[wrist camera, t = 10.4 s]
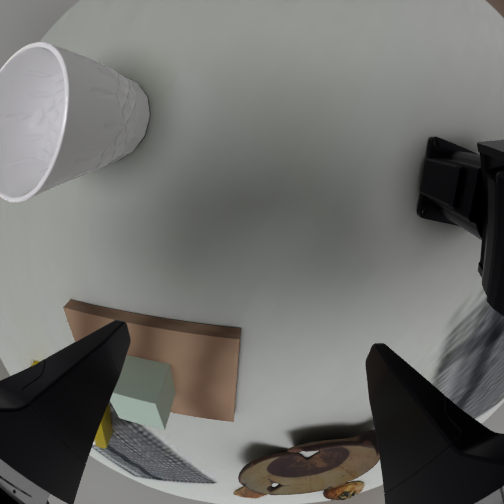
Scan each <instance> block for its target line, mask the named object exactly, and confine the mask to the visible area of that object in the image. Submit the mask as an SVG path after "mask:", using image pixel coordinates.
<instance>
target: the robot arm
mask: <svg viewBox="0 0 504 504" xmlns="http://www.w3.org/2000/svg"><path fill="white" fill-rule="evenodd" d="M434 141H435V142H436V145H434ZM477 147H478V152H480V155H478V154H476V153H474V152H472V151H469V150H467V149H465V148H463V147H460V146H458V145H456V144H453V143H451V142H448V141H446V140H443V139H441V138H438V137H430V139H429V142H428V151H427V158H426V161H425V167H424V173H423V179H422V185H421V190H420V191H421V194H420V199H419V203H418V208H417V214H418V215H419V216H420V217H421V218H424V219H429V220H434V221H439V222H444V223H448V224H453V225H457V226H460V227H462V228H463V229H465V230H467V231H468V232H470V233H471V234H473V235H474V236H476V237H478V238H479V239H481V240H482V247H481V258H480V262H479V265H478V271H479V273H480V275H481V277H482V286H483V288H484V291H485V293H486V295H487V302H488V303H489V304H490V306H491V307H492V308H493V309H494V310H495V311H497V312H498V313H499V314H501V315H502V316H504V140H497V141H486V142H477ZM423 209H424V213H423V214H422V210H423ZM130 342H131V338H130V334H129V330H128V326H127V323H126V322H125V321H121V320H114V321H112V322H111V323H109V324H107V325H105V326H103V327H102V328H100V329H98V330H96V331H94V332H93V333H91V334H89V335H87V336H85V337H84V338H82V339H80V340H78V341H76V342H75V343H73V344H71V345H69V346H67V347H66V348H64V349H62V350H60V351H58V352H57V353H55V354H53V355H51V356H49V357H48V358H46V359H44V360H42V361H40V362H39V363H37V364H35V365H33V366H31V367H29V368H27V369H25V370H23V371H21V372H19V373H17V374H14V375H12V376H10V377H8V378H5V379H3V380H1V381H0V504H49V502H48V498H49V495H50V494H52V495H53V496H55V497H57V498H59V499H60V500H62V501H64V502H66V503H68V504H74V500H75V497H76V494H77V490H78V487H79V484H80V481H81V477H82V474H83V471H84V468H85V465H86V464H85V463H86V462H87V459H88V456H89V453H90V450H91V448H92V445H93V442H94V439H95V437H96V434H97V431H98V429H99V426H100V423H101V421H102V418H103V416H104V413H105V411H106V408H107V406H108V403H109V401H110V399H111V396H112V394H113V391H114V389H115V387H116V384H117V382H118V380H119V377H120V374H121V371H122V368H123V365H124V362H125V359H126V355H127V352H128V349H129V346H130ZM366 373H367V382H368V392H369V400H370V406H371V411H372V416H373V421H374V426H375V432H376V437H377V443H378V449H379V455H380V462H381V469H382V477H383V485H384V492H385V494H384V495H385V504H504V434H499V433H495V432H493V431H491V430H489V429H488V428H486V427H485V426H483V425H482V424H481V423H479V422H478V421H476V420H475V419H474V418H472V417H471V416H470V415H468V414H467V413H466V412H464V411H463V410H462V409H460V408H459V407H458V406H457V405H455V404H454V403H453V402H452V401H451V400H450V399H448V398H447V397H446V396H445V395H444V394H443V393H441V392H440V391H439V390H438V389H437V388H436V387H435V386H433V385H432V384H431V383H430V382H429V381H428V380H426V379H425V378H424V377H423V376H422V375H421V374H419V373H418V372H417V371H416V370H415V369H414V368H413V367H411V366H410V365H409V364H408V363H407V362H405V361H404V360H403V359H402V358H401V357H400V356H398V355H397V354H396V353H395V352H394V351H393V350H391V349H390V348H389V347H388V346H387V345H385V344H384V343H375V344H373V346H372V347H371V350H370V352H369V354H368V357H367V359H366Z"/></svg>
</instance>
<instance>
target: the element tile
mask: <svg viewBox="0 0 504 504" xmlns="http://www.w3.org/2000/svg"><path fill="white" fill-rule="evenodd" d="M37 363H39V362H38V361H34V362H33V364H32V365H31V366H33V365H35V364H37ZM31 366H30V367H31ZM112 433H113V430H112V422H111V412H110V406H109V404H108V406H107V408H106V411H105V413H104V416H103V418H102V421H101V423H100V426H99V429H98V431H97V434H96V437H95V439H94V442H93V445H96V446H98V447H100V448H106V447H107V446H108V443H109V441H110V438H111V436H112Z"/></svg>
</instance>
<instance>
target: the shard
mask: <svg viewBox="0 0 504 504" xmlns="http://www.w3.org/2000/svg"><path fill="white" fill-rule="evenodd" d="M233 494H234V495H237V496H240V497H246V498H259V497H262V496H264V495H268V494H264V493H255V492H253V490H250V489H248V488H246V487H245V486H244V487H242V488H241V489H239V490H237V491H235V492H234V493H233Z"/></svg>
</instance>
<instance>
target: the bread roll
mask: <svg viewBox="0 0 504 504" xmlns="http://www.w3.org/2000/svg"><path fill="white" fill-rule="evenodd" d="M363 488H364V483H363V482H358V481H353V482H347V483H345V484H343V485H340V486H337V487H334V488H329V489H326V490H325V491H324V493H323V495H324V497H326V498H328V499H331V500H335V499H336V500H345V499H347V498H351V497H352V496H354V495H357V494H359V493H360V492H361V491H362V490H363Z"/></svg>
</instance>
